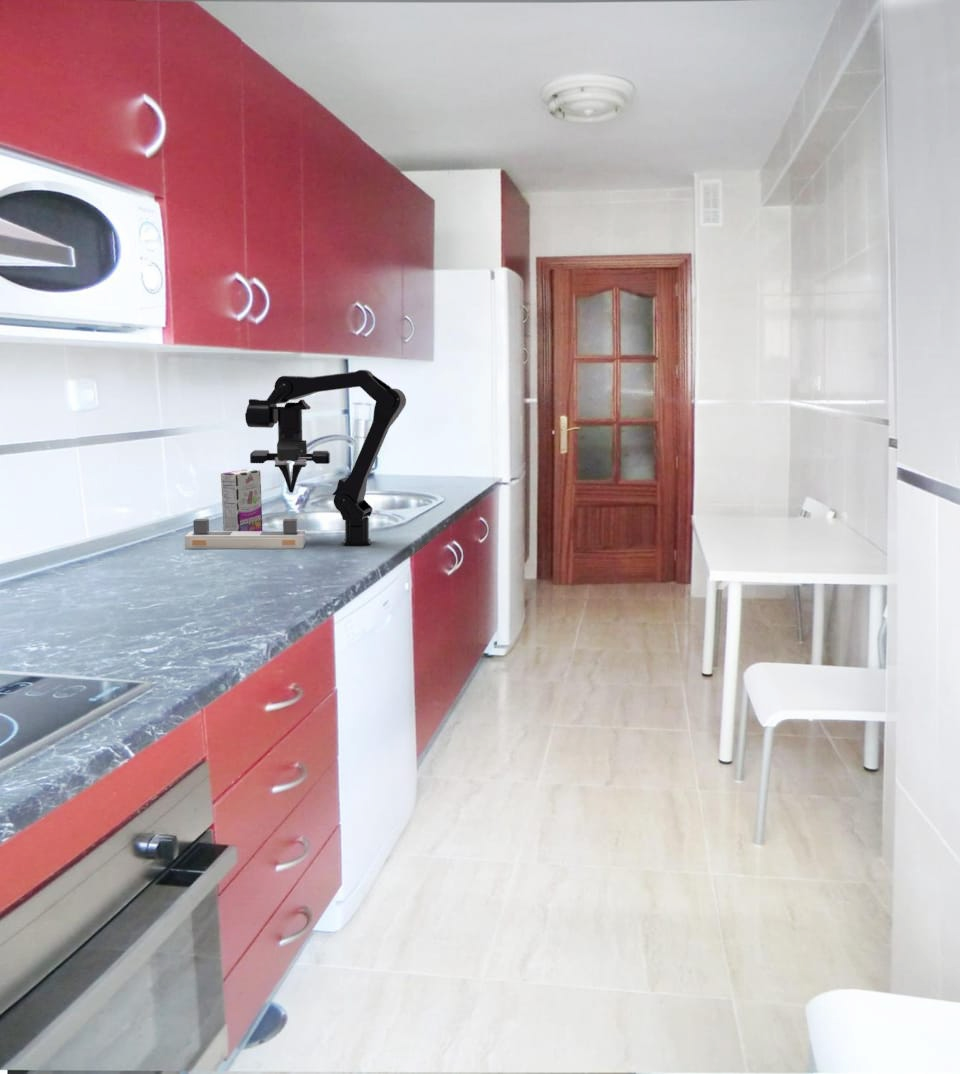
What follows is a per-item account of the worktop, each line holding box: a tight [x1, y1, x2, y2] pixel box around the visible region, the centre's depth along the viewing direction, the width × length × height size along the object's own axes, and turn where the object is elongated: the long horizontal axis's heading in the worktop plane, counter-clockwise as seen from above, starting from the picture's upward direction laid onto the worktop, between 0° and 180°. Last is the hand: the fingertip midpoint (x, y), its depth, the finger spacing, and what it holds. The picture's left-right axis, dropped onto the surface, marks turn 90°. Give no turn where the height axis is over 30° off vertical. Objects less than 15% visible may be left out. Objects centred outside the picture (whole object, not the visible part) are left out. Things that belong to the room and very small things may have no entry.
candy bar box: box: [220, 468, 264, 531], centre depth 234 cm, size 11×5×16 cm, turn 162°
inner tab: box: [282, 518, 298, 533], centre depth 221 cm, size 3×3×3 cm
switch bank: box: [184, 530, 306, 550], centre depth 220 cm, size 7×27×3 cm, turn 96°
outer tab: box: [193, 518, 210, 533], centre depth 219 cm, size 3×3×3 cm
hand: (291, 492), depth 227 cm, fingers closed
